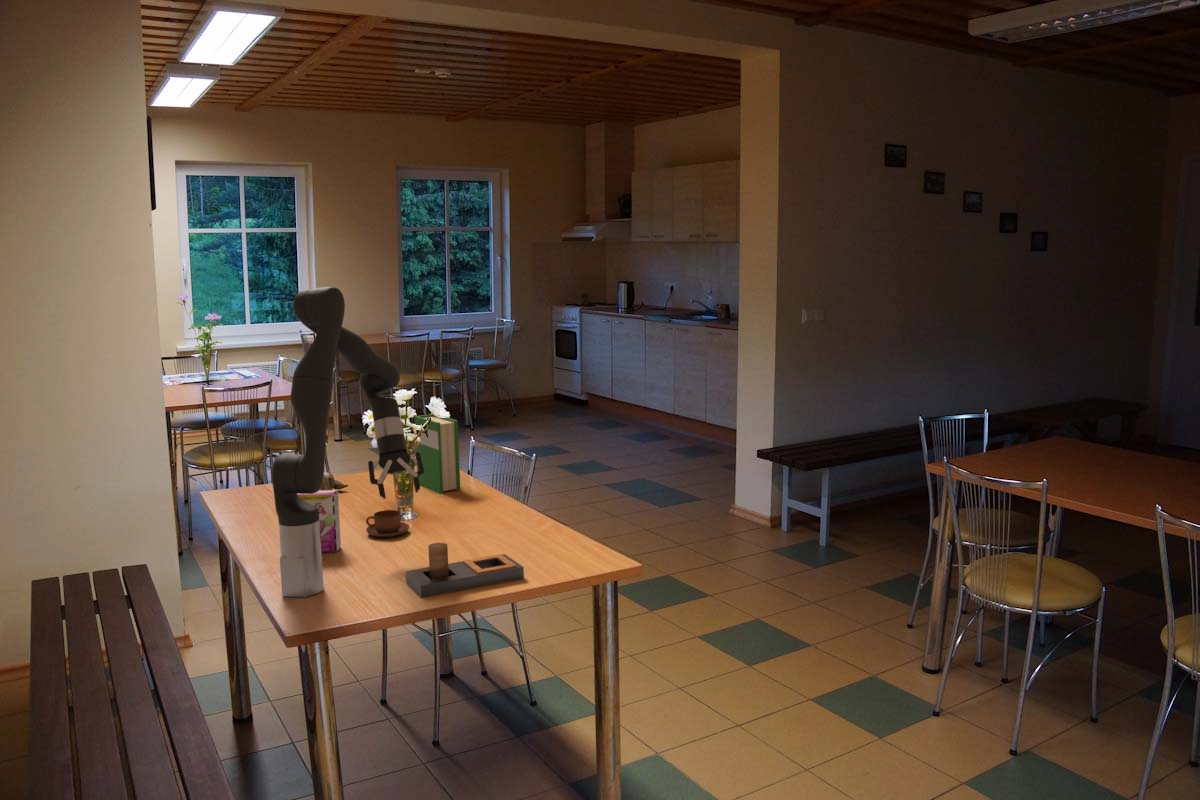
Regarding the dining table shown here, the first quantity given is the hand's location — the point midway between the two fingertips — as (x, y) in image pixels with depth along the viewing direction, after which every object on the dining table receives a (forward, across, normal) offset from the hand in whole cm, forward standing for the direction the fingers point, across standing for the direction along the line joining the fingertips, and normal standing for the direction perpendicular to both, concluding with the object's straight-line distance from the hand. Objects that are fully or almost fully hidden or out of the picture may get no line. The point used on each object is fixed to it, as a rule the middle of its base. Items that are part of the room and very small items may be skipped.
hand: (400, 495), depth 257 cm
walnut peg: (+27, +5, -19) cm, 33 cm away
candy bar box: (+9, -24, +14) cm, 29 cm away
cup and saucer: (+6, -6, +25) cm, 27 cm away
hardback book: (-12, +13, +74) cm, 76 cm away
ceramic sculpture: (-18, -25, +77) cm, 83 cm away
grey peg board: (+27, +12, -18) cm, 34 cm away
